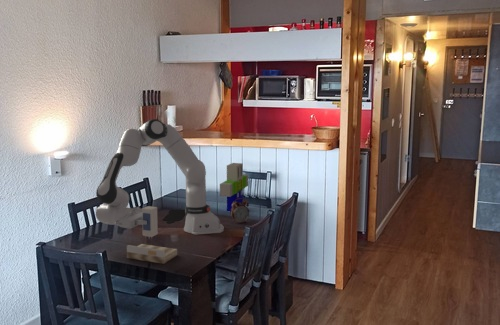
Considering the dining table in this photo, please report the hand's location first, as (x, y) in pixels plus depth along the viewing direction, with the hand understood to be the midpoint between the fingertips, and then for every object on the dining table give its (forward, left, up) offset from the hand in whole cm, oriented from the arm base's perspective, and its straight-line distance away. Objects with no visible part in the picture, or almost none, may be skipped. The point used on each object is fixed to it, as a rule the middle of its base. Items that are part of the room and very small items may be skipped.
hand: (151, 220), depth 221 cm
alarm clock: (-44, -54, -18) cm, 72 cm away
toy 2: (-42, -83, -18) cm, 95 cm away
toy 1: (-4, -70, -19) cm, 73 cm away
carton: (+1, 0, -7) cm, 7 cm away
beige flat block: (0, -1, -18) cm, 18 cm away
